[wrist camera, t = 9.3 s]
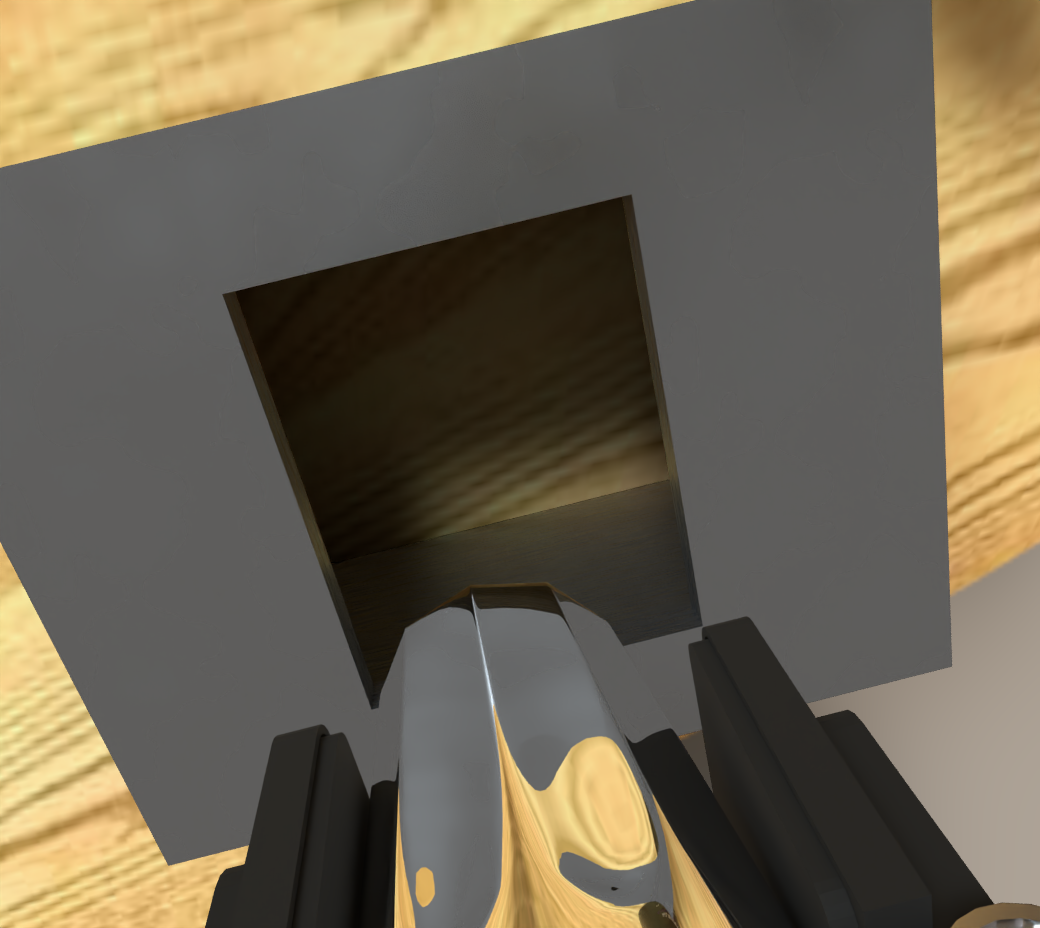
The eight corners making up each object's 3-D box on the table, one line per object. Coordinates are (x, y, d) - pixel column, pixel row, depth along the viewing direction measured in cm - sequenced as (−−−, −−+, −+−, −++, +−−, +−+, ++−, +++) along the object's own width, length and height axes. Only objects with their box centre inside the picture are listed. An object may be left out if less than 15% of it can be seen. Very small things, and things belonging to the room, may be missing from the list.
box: (717, 10, 27) (929, -57, 16) (772, 478, 33) (952, 666, 22) (73, 166, 26) (-172, 209, 15) (252, 608, 33) (168, 865, 22)
